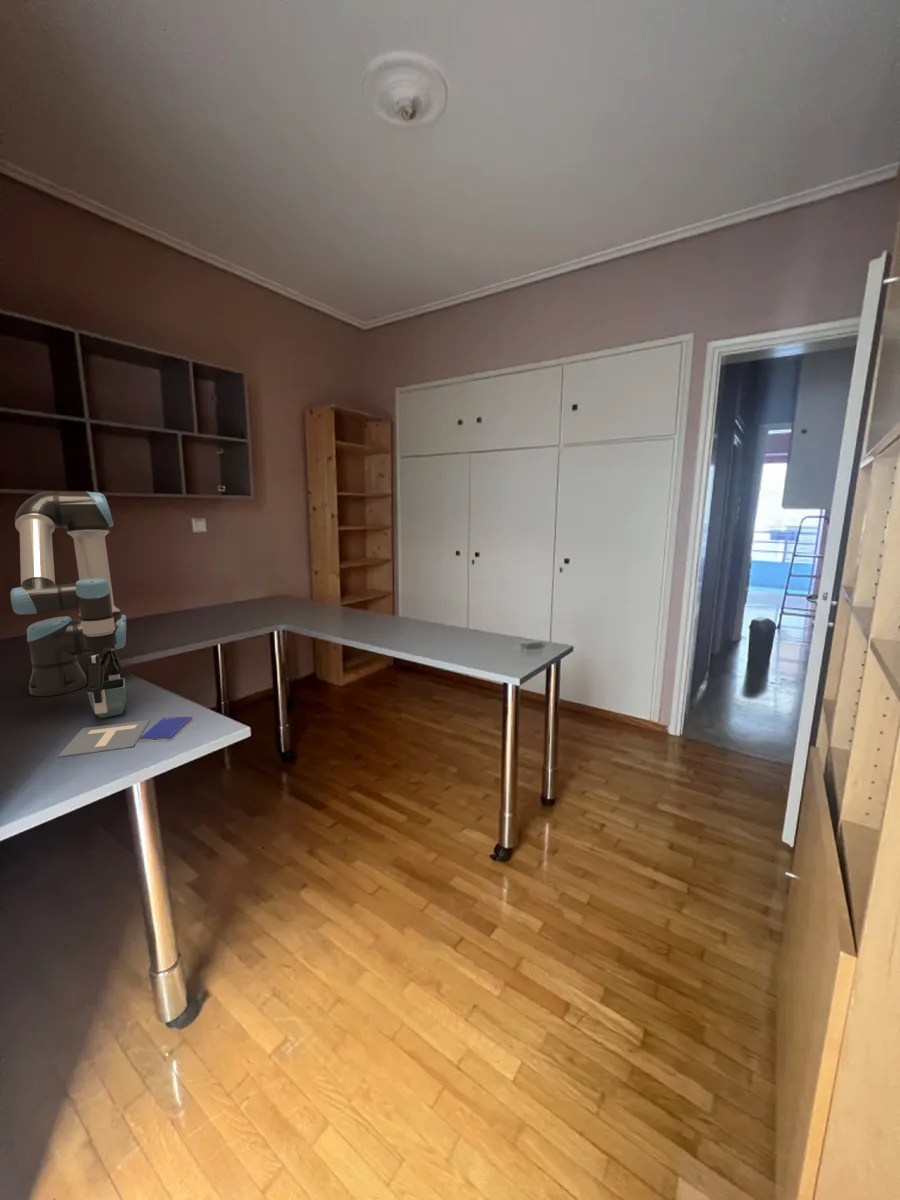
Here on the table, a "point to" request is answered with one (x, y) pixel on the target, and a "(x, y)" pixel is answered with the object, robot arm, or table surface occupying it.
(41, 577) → the robot arm
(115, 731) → the letter card
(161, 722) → the blue book
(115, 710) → the flower pot
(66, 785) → the table surface
